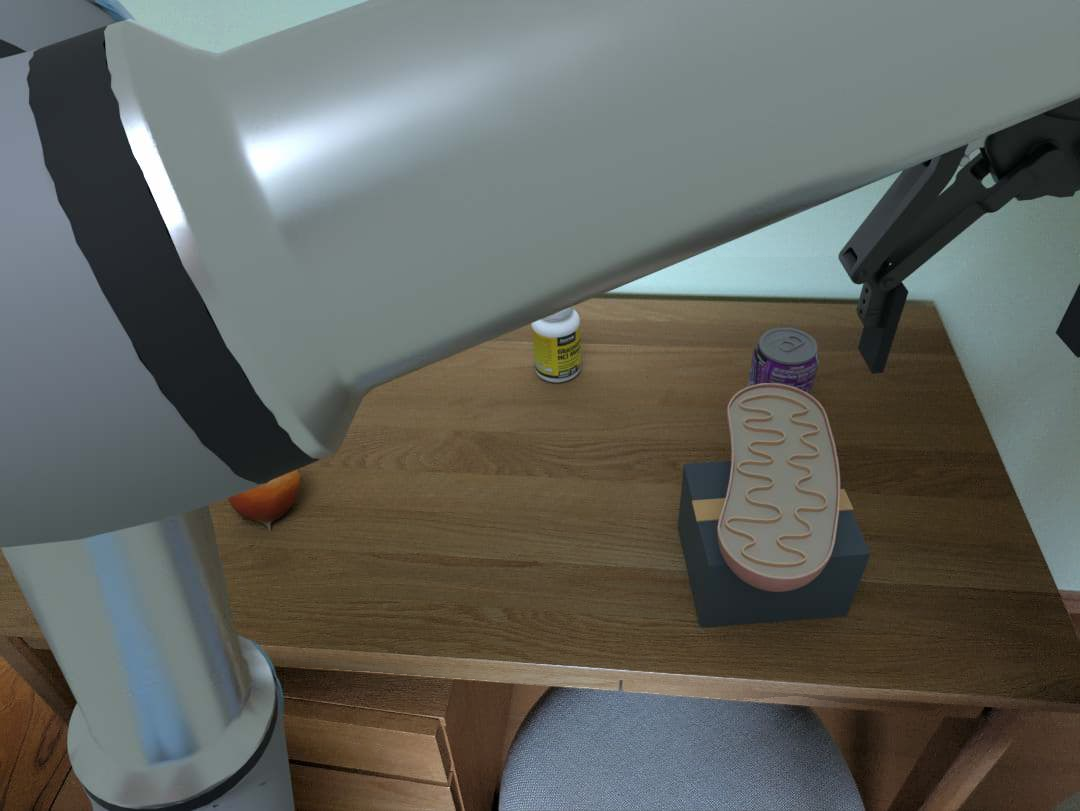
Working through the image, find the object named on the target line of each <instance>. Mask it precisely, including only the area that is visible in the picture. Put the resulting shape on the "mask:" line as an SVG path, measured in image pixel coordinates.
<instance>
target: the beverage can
mask: <svg viewBox="0 0 1080 811" xmlns="http://www.w3.org/2000/svg"><path fill="white" fill-rule="evenodd" d="M819 363H820V358H819V355H818V343H817V341H816V340H815V338H814V337H813V336H812V335H811V334H809V333H807V332H805V331H804V330H800V329H799V328H798V329H797V328H793V327H775V328H771V329H769V330H767V331H765V332H764V333H763V334H762V335H761V336H760V338H759V342H758V344H757V345H756V346H755V347H754V350H753V353H752V358H751V364H750V369H749V370H750V371H749V375H748V383H747V387H749V386H752V385H756V384H761V383H778V384H784V385H788V386H793V387H796V388H798V389H800V390H802V391H804V392H807V393H808V394H810V395H811V396H812V394H813V390H814V385H815V381H816V377H817V372H818V369H819V365H820V364H819Z"/></svg>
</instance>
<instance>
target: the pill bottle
mask: <svg viewBox="0 0 1080 811" xmlns="http://www.w3.org/2000/svg"><path fill="white" fill-rule="evenodd" d="M574 308H575V306H572V307H570V308H567V309H565V310H563V311H560V312H558V313H555V314H553V315H550V316H548V317H546V318H543V319H541V320H538V321H536V322H533V323H531V324H530V326H531V337H532V338H531V339H532V352H533V364H534V365H533V366H534V370H535V373H536V375H537V376H538V377H539V378H540V379H542V380H544V381H545V382H549V383H557V384H559V383H565V382H569V381H571V380H572V379H574V378H575V377H577V375H579V373H580V371H581V368H582V350H581V349H582V346H581V345H582V344H581V319H580V315H579V313H578V312H577V311H576V310H575V309H574Z"/></svg>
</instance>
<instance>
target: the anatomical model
mask: <svg viewBox="0 0 1080 811" xmlns="http://www.w3.org/2000/svg"><path fill="white" fill-rule="evenodd" d="M726 420H727V427H728V436H729V443H730V461H731V469H730V478H729V484H728V489H727V494H726V497H725V501H724V504H723V508H722V511H721V515H720V518H719V522H718V526H717V533H718V543H719V547H720V551H721V553H722V555H723V557H724V559H725V561H726V563H727V565H728V566H729V567H730V569H731V570H732V571H733V572H734V573H735V574H736V575H737V576H738V577H739V578H740V579H741V580H743V581H744V582H746V583H748V584H750V585H752V586H753V587H756V588H758V589H762V590H765V591H771V592H783V591H791V590H794V589H798V588H800V587H802V586H804V585H807V584H808V583H809V582H811V581H812V580H813V579H815V578H816V577H817V576H818V575H819V574H820V573H821V571H822V570H823V569H824V567H825V566H826V565H827V563H828V561H829V559H830V557H831V554H832V551H833V547H834V544H835V539H836V531H837V524H838V517H839V504H840V485H841V473H840V463H839V458H838V453H837V452H838V451H837V447H836V442H835V439H834V435H833V432H832V428H831V424H830V420H829V417H828V414H827V412H826V410H825V408H824V407H823V405H822V404H821V402H820V401H819V400H818V399H816V397H814V396H813V395H812V394H811V395H810V394H808V393H807V392H804V391H802V390H800V389H798V388H796V387H793V386H788V385H784V384H778V383H761V384H756V385H752V386H749V387H748V386H746V387H745V388H742V389H740V390H739V391H737V392H736V393H735V394H734V395H733V396H732V397H731V398H730V400H729V402H728V404H727V407H726Z"/></svg>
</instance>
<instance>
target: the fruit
mask: <svg viewBox="0 0 1080 811" xmlns="http://www.w3.org/2000/svg"><path fill="white" fill-rule="evenodd" d="M301 478H302V477H301V473H300V471H299V469H297V470H294V471H292V472H290V473H287V474H285V475H283V476H280V477H278V478H275V479H273V480H271V481H269V482H268V483H266V484H264V485H261V486H258V487H256V488H253V489H251V490H248V491H245V492H243V493H240V494H237V495H235V496H232V497H230V498H227V501H228V503H229V505H230V506H231V508H233V510H234V511H235V512H236V513H237V514H238V516H239V517H240V518H242V521H244V520H245V519H249V520H252V521H255V522H258V523H259V524H260V523H261V524H262V525H264V526H266V527H267V530H268V532H270V533H271V531H272V527H271V526H272V523H273V522H274V521H276V520H279V519H280V518H281V517H282V516H284V515H285V514H286V513H287V512H288V511H289V510H290V508H291V507H292V506H293V503H294V502H295V499H296V497H297V494H298V493H299V489H300V487H301Z"/></svg>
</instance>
